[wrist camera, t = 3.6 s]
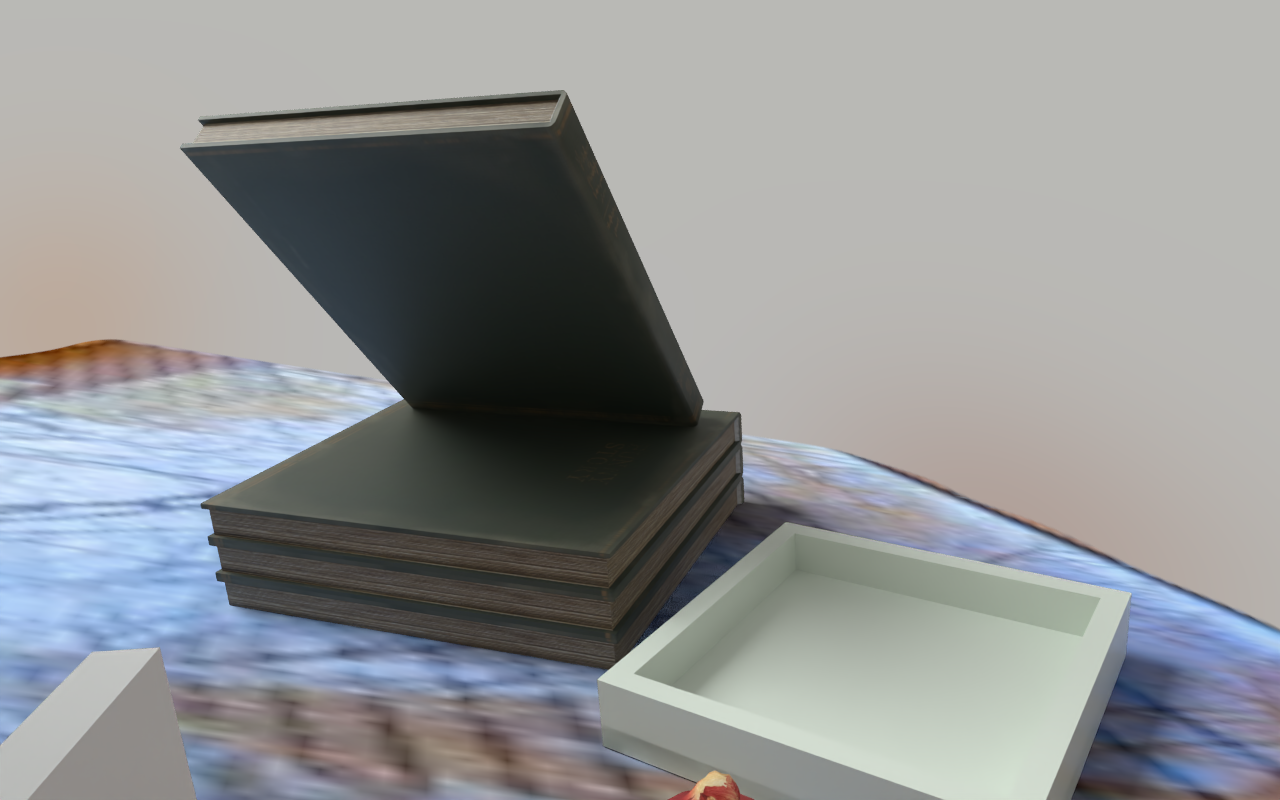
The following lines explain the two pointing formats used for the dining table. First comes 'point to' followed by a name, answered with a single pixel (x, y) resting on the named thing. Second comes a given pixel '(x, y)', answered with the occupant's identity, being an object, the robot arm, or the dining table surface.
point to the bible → (472, 384)
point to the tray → (873, 676)
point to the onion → (713, 789)
